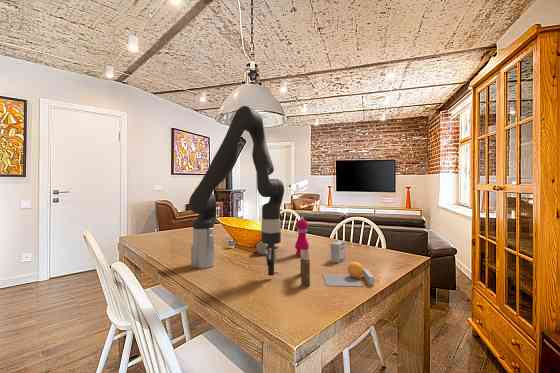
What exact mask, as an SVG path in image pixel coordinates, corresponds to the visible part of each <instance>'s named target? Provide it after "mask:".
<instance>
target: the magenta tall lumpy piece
mask: <svg viewBox="0 0 560 373" xmlns="http://www.w3.org/2000/svg"><path fill="white" fill-rule="evenodd" d="M295 224H296V228H297V233H298V236H297V239H296V242H295V244H294V248H295V249H296V251H295V255H296V256H297V257H300V250H309V248H310V244H309V241H308V239H307V232H308V229H307V228H308V225H309V224H308V221H307V220H306V219H304V217H303V216H300V219H298V220H297V221H296V223H295Z"/></svg>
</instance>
